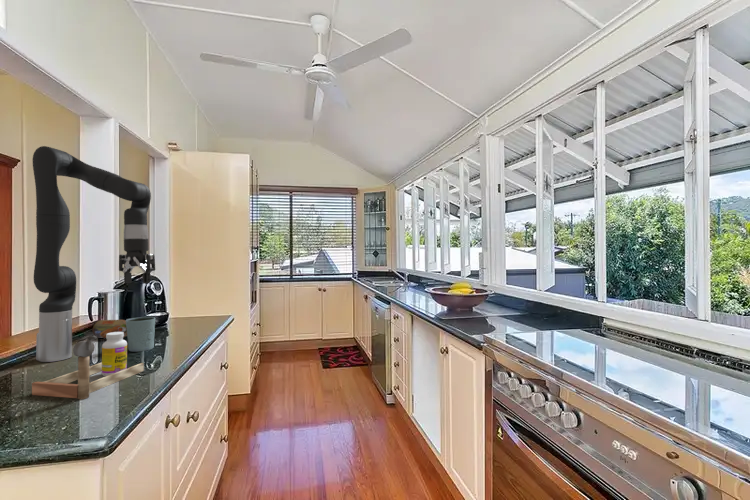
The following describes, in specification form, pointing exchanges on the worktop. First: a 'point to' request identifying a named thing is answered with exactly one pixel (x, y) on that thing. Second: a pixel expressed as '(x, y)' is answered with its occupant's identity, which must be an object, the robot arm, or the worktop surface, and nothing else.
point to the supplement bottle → (114, 353)
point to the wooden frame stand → (82, 376)
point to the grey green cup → (140, 333)
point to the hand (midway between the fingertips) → (137, 283)
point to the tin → (109, 327)
